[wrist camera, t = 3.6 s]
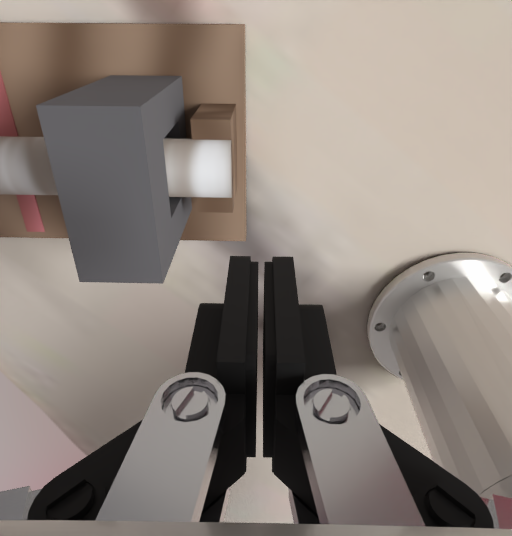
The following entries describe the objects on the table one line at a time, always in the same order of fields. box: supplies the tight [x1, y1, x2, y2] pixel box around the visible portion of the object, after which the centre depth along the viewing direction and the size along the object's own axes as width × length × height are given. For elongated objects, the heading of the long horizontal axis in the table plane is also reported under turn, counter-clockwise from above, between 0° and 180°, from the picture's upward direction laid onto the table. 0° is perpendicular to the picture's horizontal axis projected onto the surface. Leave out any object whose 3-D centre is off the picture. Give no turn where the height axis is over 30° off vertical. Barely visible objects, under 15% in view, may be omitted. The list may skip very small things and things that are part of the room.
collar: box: [36, 75, 192, 283], centre depth 22 cm, size 4×8×9 cm, turn 0°
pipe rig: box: [0, 23, 246, 241], centre depth 24 cm, size 21×13×7 cm, turn 90°
